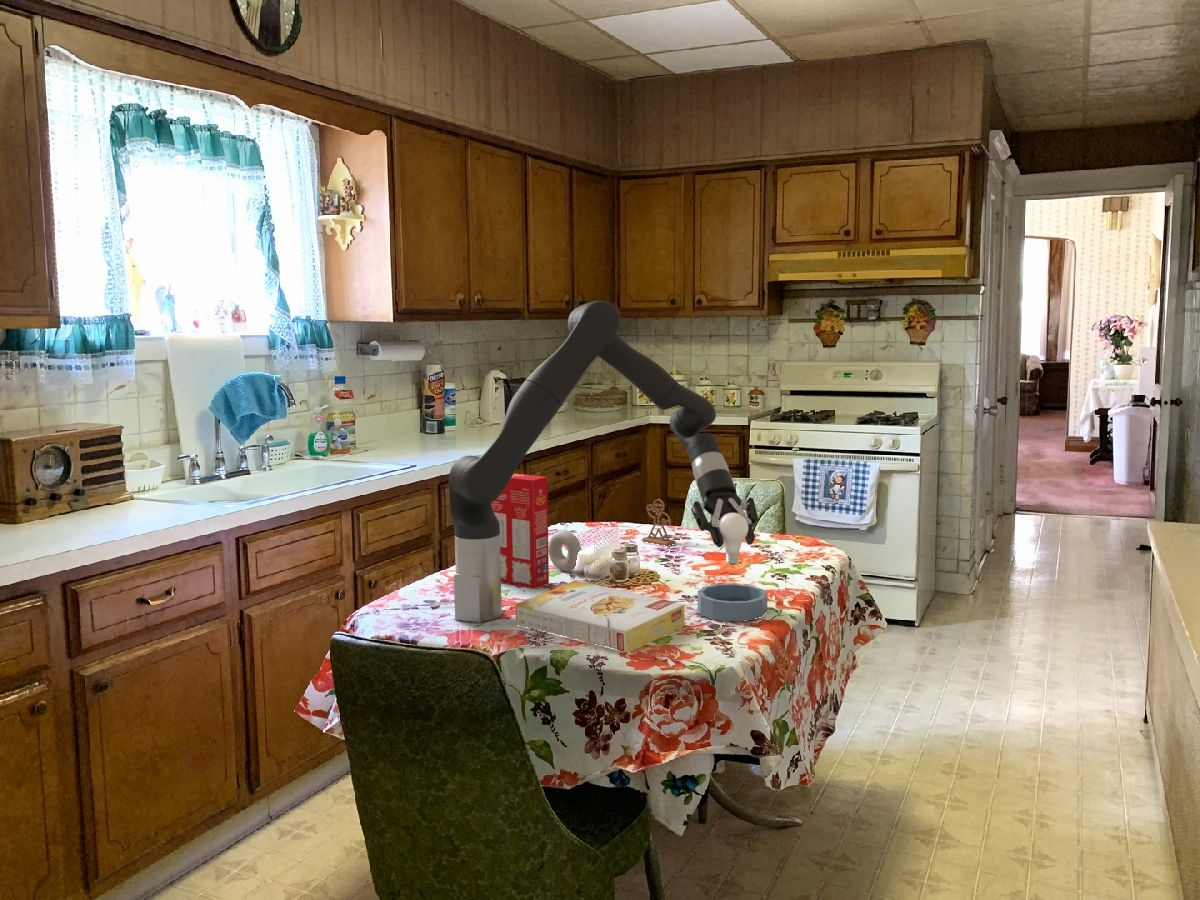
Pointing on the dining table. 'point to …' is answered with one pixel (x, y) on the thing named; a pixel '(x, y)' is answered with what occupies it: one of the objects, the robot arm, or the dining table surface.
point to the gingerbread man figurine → (653, 538)
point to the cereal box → (601, 615)
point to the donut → (556, 550)
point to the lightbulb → (733, 535)
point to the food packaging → (524, 531)
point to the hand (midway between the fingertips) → (736, 543)
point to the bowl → (732, 602)
